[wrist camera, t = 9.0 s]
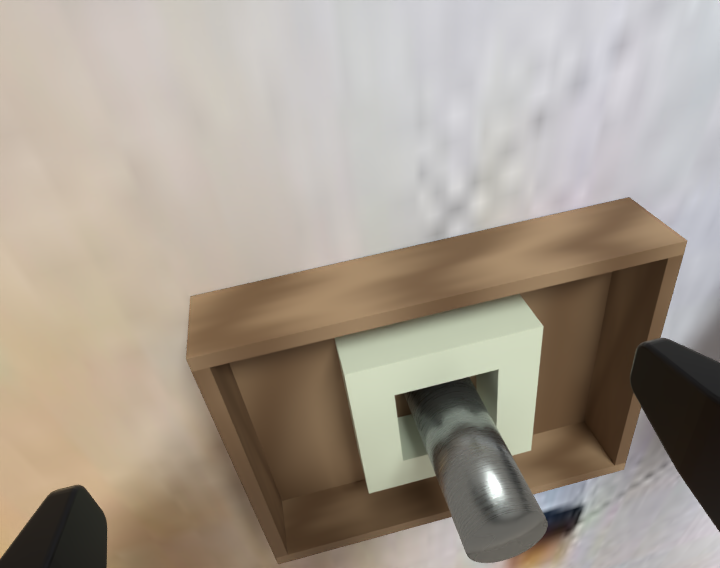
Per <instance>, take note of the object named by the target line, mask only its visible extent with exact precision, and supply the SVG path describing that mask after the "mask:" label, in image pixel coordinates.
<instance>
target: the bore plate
mask: <svg viewBox="0 0 720 568" xmlns="http://www.w3.org/2000/svg"><path fill="white" fill-rule="evenodd" d="M542 336H543V325H542V324H541V322H540V321H539V320H538V318H537V317H536V316H535V314H534V313H533V312H532V310H531V309H530V307H529V306H528V305H527V303H526V302H525V301H524V299H523V298H522V297H521V295H520V294H516V295H512V296H507V297H503V298H499V299H495V300H491V301H486V302H482V303H478V304H474V305H470V306H465V307H461V308H457V309H453V310H449V311H444V312H440V313H436V314H432V315H428V316H424V317H419V318H415V319H411V320H407V321H403V322H398V323H394V324H390V325H386V326H382V327H377V328H373V329H369V330H365V331H361V332H356V333H352V334H348V335H344V336H340V337H336V338H335V343H336V348H337V352H338V357H339V362H340V367H341V371H342V376H343V381H344V386H345V390H346V395H347V400H348V404H349V409H350V414H351V419H352V423H353V428H354V433H355V438H356V442H357V447H358V452H359V456H360V460H361V464H362V468H363V472H364V476H365V480H366V484H367V488H368V492H369V494H370V493H373V492H377V491H381V490H385V489H389V488H392V487H396V486H400V485H404V484H407V483H411V482H415V481H419V480H422V479H426V478H430V477H434V476H436V475H435V472H434V469H433V467H432V464H431V462H430V459H429V457H428V454H427V452H426V449H425V446H424V444H423V441H422V439H421V436H420V434H419V431H418V428H417V426H416V423H415V421H414V418H413V416H412V414H411V415H407V416H403V417H399V418H397V411H396V403H395V396H394V395H398V394H402V393H406V392H410V391H414V390H418V389H422V388H426V387H430V386H434V385H438V384H442V383H446V382H450V381H454V380H458V379H462V378H466V377H470V376H474V375H476V390H477V392H478V394H479V396H480V398H481V399H482V401H483V403H484V405H485V407H486V409H487V410H488V412H489V414H490V416H491V418H492V420H493V422H494V423H495V425H496V427H497V429H498V431H499V433H500V435H501V436H502V438H503V440H504V442H505V444H506V446H507V447H508V449H509V451H510V453H511V455H516V454H520V453H524V452H527V451H531V445H532V435H533V426H534V416H535V406H536V396H537V386H538V376H539V366H540V356H541V346H542Z"/></svg>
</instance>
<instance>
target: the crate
mask: <svg viewBox="0 0 720 568" xmlns="http://www.w3.org/2000/svg"><path fill="white" fill-rule="evenodd" d="M686 244H687V240H686V239H684V238H683V237H682V236H680V235H679V234H678V233H676V232H675V231H674V230H672V229H671V228H670V227H668V226H667V225H666V224H664V223H663V222H662V221H660V220H659V219H658V218H656V217H655V216H654V215H652V214H651V213H650V212H648V211H647V210H646V209H644V208H643V207H642V206H640V205H639V204H638V203H636V202H635V201H633V200H632V199H631V198H629V197H628V198H624V199H619V200H615V201H611V202H606V203H602V204H597V205H593V206H588V207H584V208H580V209H575V210H571V211H566V212H562V213H558V214H553V215H549V216H544V217H540V218H535V219H531V220H527V221H522V222H518V223H513V224H509V225H504V226H500V227H496V228H491V229H487V230H482V231H478V232H473V233H469V234H465V235H460V236H456V237H451V238H447V239H443V240H438V241H434V242H429V243H425V244H420V245H416V246H412V247H407V248H403V249H398V250H394V251H389V252H385V253H381V254H376V255H372V256H367V257H363V258H359V259H354V260H350V261H345V262H341V263H336V264H332V265H328V266H323V267H319V268H314V269H310V270H305V271H301V272H297V273H292V274H288V275H283V276H279V277H275V278H270V279H266V280H261V281H257V282H252V283H248V284H244V285H239V286H235V287H230V288H226V289H221V290H217V291H213V292H208V293H204V294H199V295H195V296H191V297H190V310H189V325H188V339H187V353H186V360H187V362H188V365H189V367H190V369H191V371H192V373H193V376H194V378H195V380H196V382H197V385H198V387H199V389H200V391H201V394H202V396H203V398H204V400H205V402H206V405H207V407H208V409H209V411H210V414H211V416H212V418H213V420H214V422H215V425H216V427H217V429H218V431H219V434H220V436H221V438H222V440H223V443H224V445H225V447H226V449H227V451H228V454H229V456H230V458H231V460H232V463H233V465H234V467H235V469H236V472H237V474H238V476H239V478H240V480H241V483H242V485H243V487H244V489H245V492H246V494H247V496H248V498H249V501H250V503H251V505H252V507H253V509H254V512H255V514H256V516H257V518H258V521H259V523H260V525H261V527H262V530H263V532H264V534H265V536H266V538H267V541H268V543H269V545H270V547H271V550H272V552H273V554H274V556H275V558H276V561H277V563H278V564H281V563H285V562H288V561H292V560H296V559H299V558H303V557H307V556H310V555H314V554H318V553H321V552H325V551H328V550H332V549H336V548H339V547H343V546H347V545H350V544H354V543H358V542H361V541H365V540H369V539H372V538H376V537H380V536H383V535H387V534H390V533H394V532H398V531H401V530H405V529H409V528H412V527H416V526H420V525H423V524H427V523H431V522H434V521H438V520H442V519H445V518H449V517H452V516H451V513H450V510H449V508H448V505H447V503H446V500H445V498H444V495H443V493H442V490H441V487H440V485H439V482H438V480H437V477H436V476H434V477H430V478H426V479H422V480H419V481H415V482H411V483H407V484H404V485H400V486H396V487H392V488H389V489H385V490H381V491H377V492H373V493H370V494H369V492H368V488H367V484H366V480H365V476H364V472H363V468H362V464H361V460H360V456H359V452H358V447H357V442H356V438H355V433H354V428H353V423H352V419H351V414H350V409H349V404H348V400H347V395H346V390H345V386H344V381H343V376H342V371H341V367H340V362H339V357H338V352H337V348H336V343H335V338H336V337H340V336H344V335H348V334H352V333H356V332H361V331H365V330H369V329H373V328H377V327H382V326H386V325H390V324H394V323H398V322H403V321H407V320H411V319H415V318H419V317H424V316H428V315H432V314H436V313H440V312H444V311H449V310H453V309H457V308H461V307H465V306H470V305H474V304H478V303H482V302H486V301H491V300H495V299H499V298H503V297H507V296H512V295H516V294H520V295H521V297H522V298H523V299H524V301H525V302H526V303H527V305H528V306H529V307H530V309H531V310H532V312H533V313H534V314H535V316H536V317H537V318H538V320H539V321H540V322H541V324H542V325H543V336H542V346H541V356H540V366H539V376H538V386H537V396H536V406H535V416H534V426H533V435H532V445H531V451H527V452H524V453H520V454H516V455H512V457H513V459H514V460H515V462H516V464H517V466H518V468H519V470H520V472H521V473H522V475H523V477H524V479H525V481H526V483H527V484H528V486H529V488H530V490H531V492H532V494H536V493H540V492H544V491H547V490H551V489H555V488H558V487H562V486H566V485H569V484H573V483H577V482H580V481H584V480H587V479H591V478H595V477H598V476H602V475H606V474H609V473H613V472H617V471H620V470H624V467H625V463H626V460H627V456H628V453H629V449H630V445H631V442H632V438H633V435H634V431H635V427H636V424H637V420H638V417H639V413H640V409H641V405H640V403H639V401H638V399H637V398H636V396H635V394H634V392H633V390H632V388H631V384H630V373H631V369H632V365H633V361H634V357H635V353H636V349H637V347H638V345H639V344H640V343H642V342H646V341H650V340H654V339H657V338H660V337H661V334H662V330H663V327H664V323H665V319H666V316H667V312H668V309H669V305H670V301H671V298H672V294H673V291H674V287H675V283H676V280H677V276H678V273H679V269H680V265H681V262H682V258H683V255H684V251H685V247H686ZM470 379H471V381H472V383H473V385H474V386H475V388H476V375H474V376H470ZM394 396H395V403H396V411H397V418H399V417H403V416H407V415H411V414H412V413H411V411H410V408H409V405H408V403H407V400H406V398H405V395H404V393H402V394H398V395H394Z"/></svg>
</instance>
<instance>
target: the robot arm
mask: <svg viewBox="0 0 720 568" xmlns="http://www.w3.org/2000/svg"><path fill="white" fill-rule="evenodd" d="M630 384H631V388H632V390H633V392H634V394H635V396H636V398H637V399H638V401H639V403H640V405H641V407H642V409H643V410H644V412H645V414H646V416H647V418H648V419H649V421H650V423H651V425H652V427H653V428H654V430H655V432H656V434H657V436H658V437H659V439H660V441H661V443H662V445H663V446H664V448H665V450H666V452H667V454H668V455H669V457H670V459H671V461H672V462H673V464H674V466H675V467H676V469H677V471H678V472H679V474H680V475H681V477H682V478H683V480H684V481H685V483H686V484H687V486H688V487H689V489H690V490H691V492H692V493H693V494H694V496H695V497H696V499H697V500H698V502H699V503H700V504H701V506H702V507H703V509H704V510H705V512H706V513H707V514H708V516H709V517H710V519H711V520H712V522H713V523H714V525H715V526H716V527H717V529H718V530H719V532H720V363H719V362H717V361H715V360H713V359H711V358H708V357H706V356H704V355H702V354H700V353H698V352H696V351H693V350H691V349H689V348H687V347H685V346H683V345H680V344H678V343H676V342H674V341H672V340H669V339H666V338H657V339H654V340H650V341H646V342H642V343H640V344H639V345H638V347H637V349H636V353H635V357H634V361H633V365H632V369H631V373H630ZM0 568H107V522H106V518H105V515H104V513H103V511H102V510H101V508H100V507H99V506H98V504H97V503H96V502H95V500H94V499H93V498H92V496H91V495H90V494H89V492H88V491H87V490H86V489H85V488H84V487H83V486H81V485H74V486H70V487H66V488H62V489H58V490H55V491H53V492H51V493H50V494H49V495H48V496H47V497H46V499H45V500H44V501H43V503H42V504H41V505H40V507H39V508H38V509H37V511H36V512H35V513H34V515H33V516H32V517H31V519H30V520H29V521H28V523H27V524H26V525H25V527H24V528H23V529H22V531H21V532H20V533H19V535H18V536H17V537H16V539H15V540H14V541H13V543H12V544H11V545H10V547H9V548H8V549H7V551H6V552H5V553H4V555H3V556H2V557H1V559H0Z"/></svg>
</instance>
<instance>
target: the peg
mask: <svg viewBox="0 0 720 568" xmlns="http://www.w3.org/2000/svg"><path fill="white" fill-rule="evenodd" d="M404 395H405V398H406V400H407V403H408V405H409V408H410V411H411V413H412V416H413V418H414V421H415V423H416V426H417V428H418V431H419V434H420V436H421V439H422V441H423V444H424V446H425V449H426V452H427V454H428V457H429V459H430V462H431V464H432V467H433V469H434V472H435V475H436V477H437V480H438V482H439V485H440V487H441V490H442V493H443V495H444V498H445V500H446V503H447V505H448V508H449V510H450V513H451V516H452V518H453V521H454V523H455V526H456V528H457V531H458V534H459V536H460V539H461V541H462V544H463V546H464V549H465V551H466V554H467V556H468V557H469V558H470V559H471V560H473V561H476V562H481V563H492V562H498V561H503V560H506V559H509V558H512V557H515V556H517V555H519V554H521V553H523V552H525V551H526V550H528V549H529V548H531V547H532V546H534V545H535V544H536V543H537V542H538V541H539V540H540V539H541V538H542V537H543V535H544V534H545V532H546V530H547V526H548V523H547V520H546V518H545V516H544V514H543V512H542V510H541V509H540V507H539V505H538V503H537V501H536V499H535V497H534V496H533V494H532V492H531V490H530V488H529V486H528V484H527V483H526V481H525V479H524V477H523V475H522V473H521V472H520V470H519V468H518V466H517V464H516V462H515V460H514V459H513V457H512V455H511V453H510V451H509V449H508V447H507V446H506V444H505V442H504V440H503V438H502V436H501V435H500V433H499V431H498V429H497V427H496V425H495V423H494V422H493V420H492V418H491V416H490V414H489V412H488V410H487V409H486V407H485V405H484V403H483V401H482V399H481V398H480V396H479V394H478V392H477V390H476V388H475V386H474V385H473V383H472V381H471V379H470V377H466V378H462V379H458V380H454V381H450V382H446V383H442V384H438V385H434V386H430V387H426V388H422V389H418V390H414V391H410V392H406V393H404Z"/></svg>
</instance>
